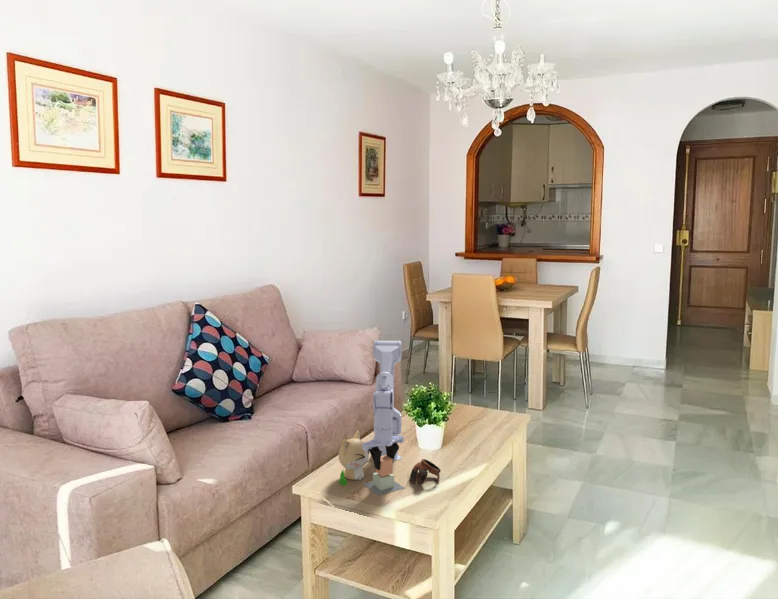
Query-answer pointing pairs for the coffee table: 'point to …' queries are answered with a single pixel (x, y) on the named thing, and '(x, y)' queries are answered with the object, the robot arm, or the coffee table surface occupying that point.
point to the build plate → (380, 492)
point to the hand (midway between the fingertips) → (383, 467)
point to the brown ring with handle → (423, 472)
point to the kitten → (352, 459)
